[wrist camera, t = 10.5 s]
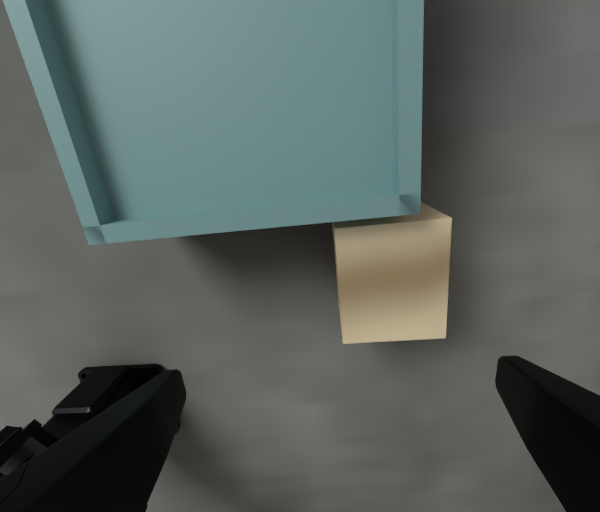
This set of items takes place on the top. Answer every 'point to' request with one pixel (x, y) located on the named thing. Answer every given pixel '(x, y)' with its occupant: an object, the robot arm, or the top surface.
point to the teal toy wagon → (228, 110)
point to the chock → (393, 276)
